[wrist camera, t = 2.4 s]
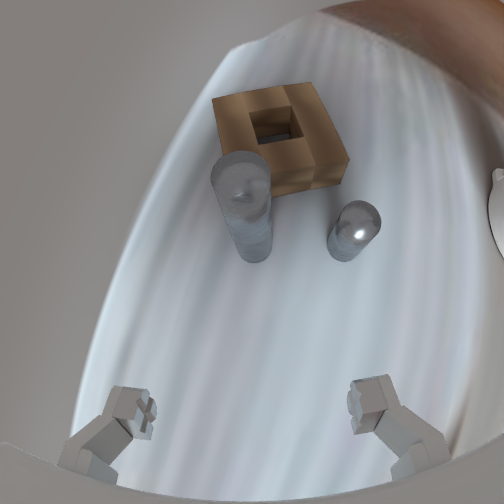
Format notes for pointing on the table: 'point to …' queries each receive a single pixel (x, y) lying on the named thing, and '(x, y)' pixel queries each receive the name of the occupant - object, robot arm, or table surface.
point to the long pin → (245, 202)
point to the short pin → (353, 230)
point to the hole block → (280, 122)
